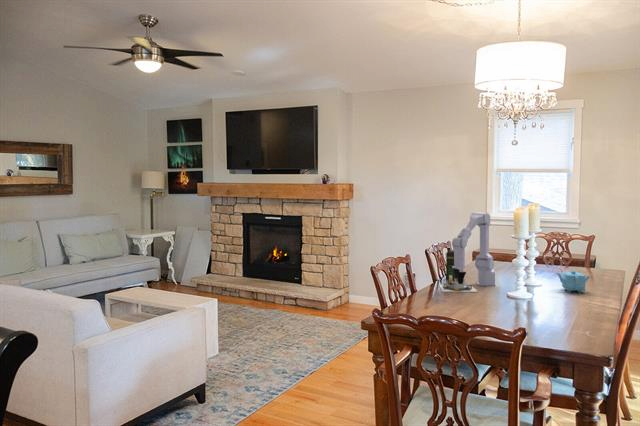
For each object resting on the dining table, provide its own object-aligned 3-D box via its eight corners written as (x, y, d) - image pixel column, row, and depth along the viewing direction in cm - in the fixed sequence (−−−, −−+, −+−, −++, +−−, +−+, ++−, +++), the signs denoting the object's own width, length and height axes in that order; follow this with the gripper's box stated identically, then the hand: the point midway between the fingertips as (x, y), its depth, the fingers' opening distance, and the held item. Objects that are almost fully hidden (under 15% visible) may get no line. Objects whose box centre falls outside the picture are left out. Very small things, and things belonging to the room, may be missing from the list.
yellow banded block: (463, 286, 294) (463, 278, 293) (464, 287, 291) (464, 279, 290) (454, 286, 294) (454, 278, 294) (455, 287, 291) (455, 279, 291)
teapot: (593, 294, 280) (594, 273, 279) (558, 293, 283) (558, 273, 283) (585, 288, 295) (585, 268, 294) (551, 287, 299) (551, 268, 298)
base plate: (471, 285, 308) (471, 284, 308) (477, 292, 289) (477, 291, 289) (438, 285, 310) (438, 284, 310) (442, 292, 291) (442, 291, 291)
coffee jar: (456, 281, 322) (456, 251, 321) (444, 280, 326) (444, 251, 325) (461, 278, 330) (461, 249, 329) (449, 277, 334) (449, 249, 333)
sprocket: (452, 283, 311) (452, 273, 311) (478, 287, 298) (478, 276, 298) (436, 287, 300) (436, 276, 300) (462, 291, 287) (462, 280, 287)
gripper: (450, 256, 299) (450, 280, 300) (454, 260, 285) (454, 285, 285) (462, 256, 298) (462, 280, 299) (467, 260, 284) (467, 285, 285)
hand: (459, 282), depth 292 cm, fingers open, 7 cm apart
